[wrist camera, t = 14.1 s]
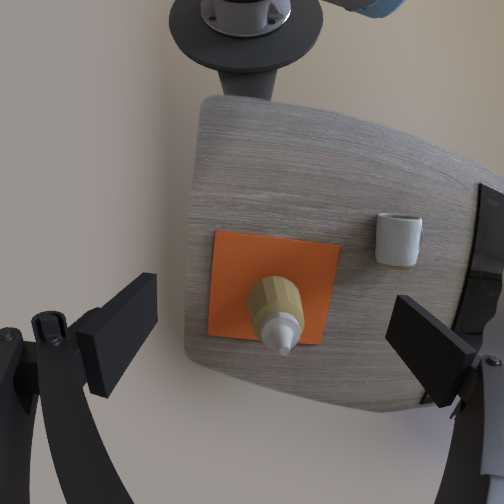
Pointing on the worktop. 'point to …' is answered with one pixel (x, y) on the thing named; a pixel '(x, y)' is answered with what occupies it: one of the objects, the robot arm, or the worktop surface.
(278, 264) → the napkin
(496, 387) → the robot arm
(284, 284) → the squeeze bottle
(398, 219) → the ceramic mug
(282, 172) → the worktop surface
